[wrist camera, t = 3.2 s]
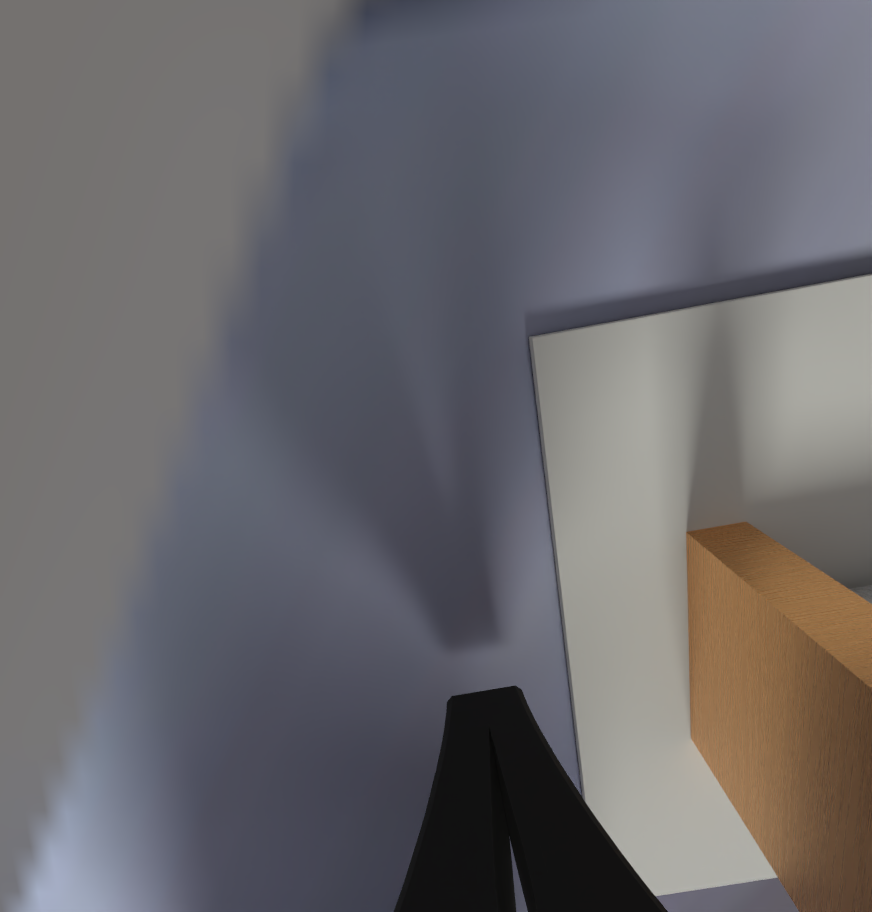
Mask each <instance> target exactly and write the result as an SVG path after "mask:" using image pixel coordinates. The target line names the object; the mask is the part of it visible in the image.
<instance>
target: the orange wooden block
mask: <svg viewBox="0 0 872 912" xmlns="http://www.w3.org/2000/svg"><path fill="white" fill-rule="evenodd" d="M686 552H687V595H688V639H689V682H690V726H691V739H692V741H693V743H694V744H695V746H696V747H697V749H698V751H699V752H700V754H701V755H702V757H703V758H704V760H705V762H706V763H707V765H708V766H709V768H710V770H711V771H712V773H713V774H714V776H715V778H716V779H717V781H718V782H719V784H720V786H721V787H722V789H723V790H724V792H725V794H726V795H727V797H728V798H729V800H730V802H731V803H732V805H733V806H734V808H735V810H736V811H737V813H738V814H739V816H740V818H741V819H742V821H743V822H744V824H745V826H746V827H747V829H748V830H749V832H750V834H751V835H752V837H753V838H754V840H755V842H756V843H757V845H758V846H759V848H760V850H761V851H762V853H763V854H764V856H765V857H766V859H767V861H768V862H769V864H770V865H771V867H772V869H773V870H774V872H775V873H776V875H777V877H778V878H779V880H780V881H781V883H782V885H783V886H784V888H785V889H786V891H787V893H788V894H789V896H790V897H791V899H792V901H793V902H794V904H795V905H796V907H797V909H798V910H799V912H872V585H869V586H863V587H857V588H851V589H848V588H847V587H845V586H843V585H842V584H840V583H839V582H837V581H836V580H834V579H833V578H831V577H830V576H828V575H827V574H825V573H824V572H822V571H821V570H819V569H818V568H816V567H815V566H813V565H811V564H810V563H808V562H807V561H805V560H804V559H802V558H801V557H799V556H798V555H796V554H795V553H793V552H792V551H790V550H789V549H787V548H786V547H784V546H783V545H781V544H780V543H778V542H776V541H775V540H773V539H772V538H770V537H769V536H767V535H766V534H764V533H763V532H761V531H760V530H758V529H757V528H755V527H754V526H752V525H751V524H749V523H748V522H741V523H735V524H729V525H723V526H717V527H712V528H706V529H700V530H694V531H689V532H686Z"/></svg>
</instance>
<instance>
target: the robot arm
mask: <svg viewBox="0 0 872 912" xmlns="http://www.w3.org/2000/svg"><path fill="white" fill-rule="evenodd" d="M509 836H510V839H509ZM510 841H511V845H512V849H513V853H514V857H515V861H516V865H517V869H518V873H519V877H520V881H521V885H522V889H523V893H524V897H525V902H526V906H527V910H528V912H668V911H667V910H666V909H665V908H664V906H663V905H662V904H661V903H660V901H659V900H658V899H657V898H656V897H655V895H654V894H653V893H652V892H651V890H650V889H649V888H648V887H647V885H646V884H645V883H644V881H643V880H642V879H641V878H640V876H639V875H638V874H637V872H636V871H635V870H634V869H633V867H632V866H631V865H630V863H629V862H628V861H627V859H626V858H625V857H624V855H623V854H622V853H621V851H620V850H619V849H618V847H617V846H616V845H615V843H614V842H613V840H612V839H611V838H610V836H609V835H608V833H607V832H606V831H605V829H604V828H603V827H602V825H601V824H600V822H599V821H598V820H597V818H596V817H595V815H594V814H593V812H592V811H591V810H590V808H589V807H588V805H587V804H586V802H585V801H584V799H583V798H582V796H581V795H580V793H579V792H578V790H577V789H576V787H575V786H574V784H573V783H572V781H571V779H570V778H569V776H568V775H567V773H566V772H565V770H564V769H563V767H562V766H561V764H560V762H559V761H558V759H557V758H556V756H555V754H554V753H553V751H552V749H551V748H550V746H549V744H548V742H547V741H546V739H545V737H544V735H543V734H542V732H541V730H540V728H539V726H538V724H537V722H536V721H535V719H534V717H533V715H532V713H531V711H530V708H529V706H528V704H527V702H526V700H525V697H524V695H523V692H522V690H521V689H520V688H518V687H517V686H510V687H504V688H498V689H492V690H486V691H480V692H474V693H468V694H462V695H456V696H452V697H451V698H450V699H449V700H448V702H447V711H446V720H445V728H444V734H443V740H442V745H441V750H440V755H439V760H438V764H437V769H436V773H435V777H434V781H433V785H432V789H431V793H430V797H429V801H428V805H427V809H426V813H425V816H424V820H423V823H422V827H421V830H420V833H419V836H418V840H417V843H416V846H415V849H414V853H413V856H412V859H411V862H410V865H409V869H408V872H407V875H406V878H405V881H404V884H403V887H402V890H401V893H400V896H399V899H398V902H397V904H396V907H395V910H394V912H516V904H515V893H514V882H513V871H512V860H511V850H510Z"/></svg>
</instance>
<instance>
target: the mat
mask: <svg viewBox="0 0 872 912" xmlns="http://www.w3.org/2000/svg"><path fill="white" fill-rule="evenodd" d="M529 343H530V352H531V360H532V369H533V377H534V386H535V395H536V403H537V412H538V420H539V429H540V437H541V446H542V455H543V463H544V472H545V480H546V489H547V497H548V506H549V515H550V523H551V532H552V540H553V549H554V557H555V566H556V574H557V583H558V592H559V600H560V609H561V617H562V626H563V634H564V643H565V652H566V660H567V669H568V677H569V686H570V694H571V703H572V712H573V720H574V729H575V737H576V746H577V754H578V763H579V772H580V780H581V789H582V797H583V799H584V801H585V802H586V804H587V805H588V807H589V808H590V810H591V811H592V812H593V814H594V815H595V817H596V818H597V820H598V821H599V822H600V824H601V825H602V827H603V828H604V829H605V831H606V832H607V833H608V835H609V836H610V838H611V839H612V840H613V842H614V843H615V845H616V846H617V847H618V849H619V850H620V851H621V853H622V854H623V855H624V857H625V858H626V859H627V861H628V862H629V863H630V865H631V866H632V867H633V869H634V870H635V871H636V872H637V874H638V875H639V876H640V878H641V879H642V880H643V881H644V883H645V884H646V885H647V887H648V888H649V889H650V890H651V892H652V893H653V894H654V895H655V896H659V895H666V894H672V893H679V892H685V891H692V890H698V889H705V888H711V887H718V886H724V885H731V884H737V883H744V882H750V881H757V880H763V879H770V878H776V877H777V875H776V873H775V872H774V870H773V869H772V867H771V865H770V864H769V862H768V861H767V859H766V857H765V856H764V854H763V853H762V851H761V850H760V848H759V846H758V845H757V843H756V842H755V840H754V838H753V837H752V835H751V834H750V832H749V830H748V829H747V827H746V826H745V824H744V822H743V821H742V819H741V818H740V816H739V814H738V813H737V811H736V810H735V808H734V806H733V805H732V803H731V802H730V800H729V798H728V797H727V795H726V794H725V792H724V790H723V789H722V787H721V786H720V784H719V782H718V781H717V779H716V778H715V776H714V774H713V773H712V771H711V770H710V768H709V766H708V765H707V763H706V762H705V760H704V758H703V757H702V755H701V754H700V752H699V751H698V749H697V747H696V746H695V744H694V743H693V741H692V739H691V726H690V682H689V639H688V595H687V552H686V532H689V531H694V530H700V529H706V528H712V527H717V526H723V525H729V524H735V523H741V522H748V523H749V524H751V525H752V526H754V527H755V528H757V529H758V530H760V531H761V532H763V533H764V534H766V535H767V536H769V537H770V538H772V539H773V540H775V541H776V542H778V543H780V544H781V545H783V546H784V547H786V548H787V549H789V550H790V551H792V552H793V553H795V554H796V555H798V556H799V557H801V558H802V559H804V560H805V561H807V562H808V563H810V564H811V565H813V566H815V567H816V568H818V569H819V570H821V571H822V572H824V573H825V574H827V575H828V576H830V577H831V578H833V579H834V580H836V581H837V582H839V583H840V584H842V585H843V586H845V587H847V588H848V589H851V588H857V587H863V586H869V585H872V274H867V275H862V276H856V277H851V278H845V279H840V280H835V281H829V282H824V283H818V284H813V285H807V286H802V287H797V288H791V289H786V290H780V291H775V292H770V293H764V294H759V295H753V296H748V297H742V298H737V299H732V300H726V301H721V302H715V303H710V304H705V305H699V306H694V307H688V308H683V309H678V310H672V311H667V312H661V313H656V314H650V315H645V316H640V317H634V318H629V319H623V320H618V321H613V322H607V323H602V324H596V325H591V326H585V327H580V328H575V329H569V330H564V331H558V332H553V333H548V334H542V335H537V336H531V337H529Z"/></svg>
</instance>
